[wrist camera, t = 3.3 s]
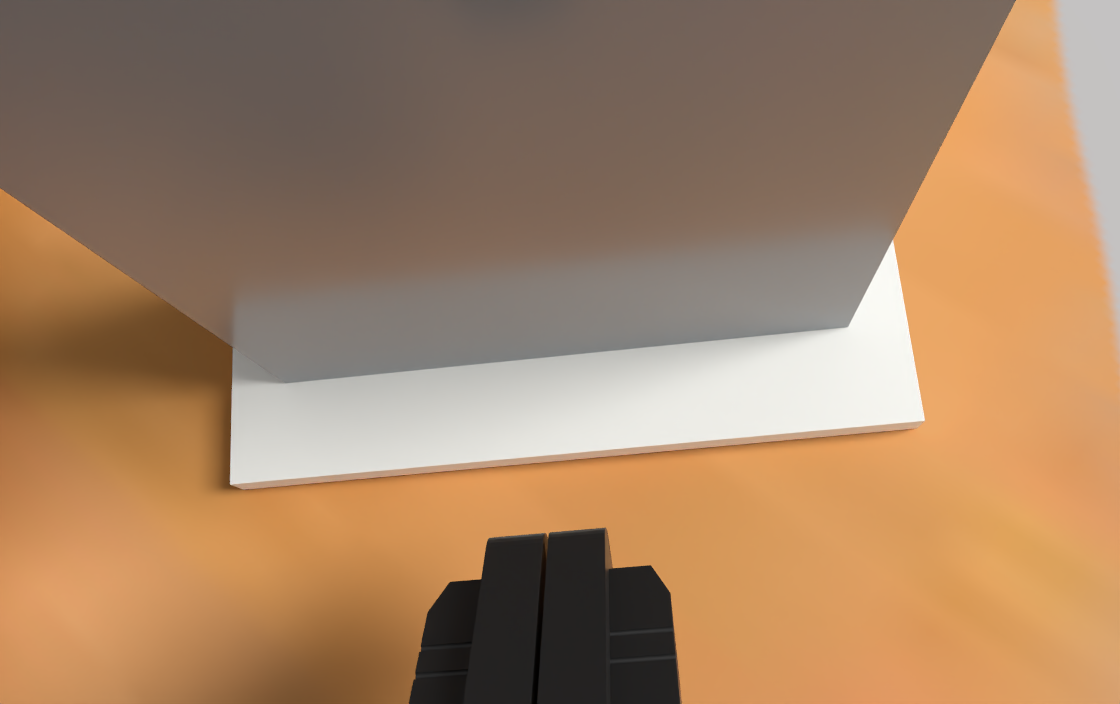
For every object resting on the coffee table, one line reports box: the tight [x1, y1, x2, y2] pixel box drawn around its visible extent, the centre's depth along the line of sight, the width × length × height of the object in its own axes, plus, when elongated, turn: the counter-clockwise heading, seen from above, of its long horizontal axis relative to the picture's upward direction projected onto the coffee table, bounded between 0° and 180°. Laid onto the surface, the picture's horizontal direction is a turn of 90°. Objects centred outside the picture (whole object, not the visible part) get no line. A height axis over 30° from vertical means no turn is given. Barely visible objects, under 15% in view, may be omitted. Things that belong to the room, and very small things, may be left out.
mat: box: [230, 240, 925, 490], centre depth 20 cm, size 12×16×1 cm
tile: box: [0, 0, 1016, 383], centre depth 13 cm, size 10×3×12 cm, turn 94°
